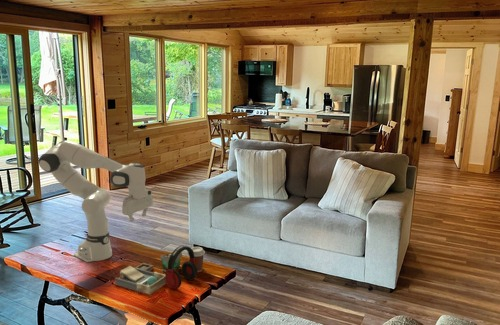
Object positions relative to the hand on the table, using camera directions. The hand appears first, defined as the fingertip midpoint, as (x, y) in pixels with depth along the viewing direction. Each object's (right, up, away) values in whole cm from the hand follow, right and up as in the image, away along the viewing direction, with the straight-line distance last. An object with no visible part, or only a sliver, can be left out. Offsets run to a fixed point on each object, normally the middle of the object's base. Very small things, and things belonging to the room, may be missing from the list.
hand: (138, 218), depth 214 cm
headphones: (+25, -32, -10) cm, 42 cm away
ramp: (-1, -29, -9) cm, 30 cm away
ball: (+11, -30, -14) cm, 35 cm away
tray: (+11, -32, -14) cm, 37 cm away
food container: (+18, -30, +3) cm, 35 cm away
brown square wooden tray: (+2, -29, +4) cm, 29 cm away
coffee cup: (+31, -29, +6) cm, 43 cm away
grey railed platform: (+1, -31, -9) cm, 33 cm away
